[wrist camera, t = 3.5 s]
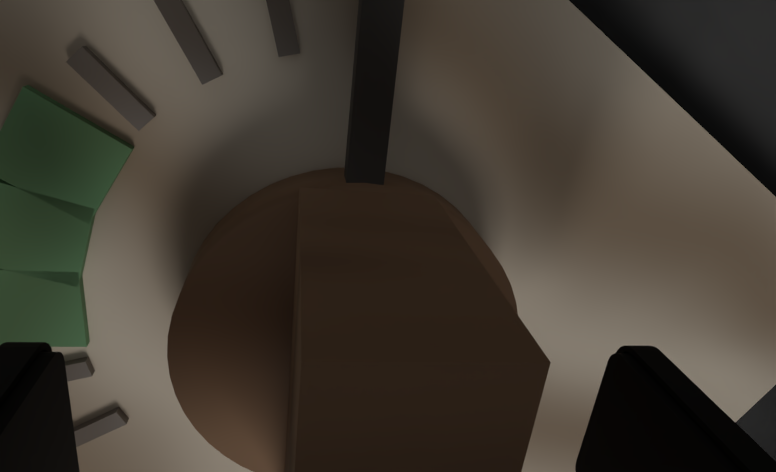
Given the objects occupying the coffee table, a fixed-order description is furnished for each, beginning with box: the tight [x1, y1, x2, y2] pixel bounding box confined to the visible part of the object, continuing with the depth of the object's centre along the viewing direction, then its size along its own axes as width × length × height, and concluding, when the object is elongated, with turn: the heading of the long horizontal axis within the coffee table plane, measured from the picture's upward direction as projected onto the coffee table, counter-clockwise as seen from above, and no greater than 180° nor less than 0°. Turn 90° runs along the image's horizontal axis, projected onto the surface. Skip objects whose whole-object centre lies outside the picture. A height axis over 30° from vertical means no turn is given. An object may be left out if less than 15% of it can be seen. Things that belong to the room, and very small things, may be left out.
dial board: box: [0, 0, 776, 472], centre depth 13 cm, size 16×24×2 cm, turn 54°
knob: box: [167, 0, 551, 472], centre depth 9 cm, size 10×7×6 cm, turn 174°
